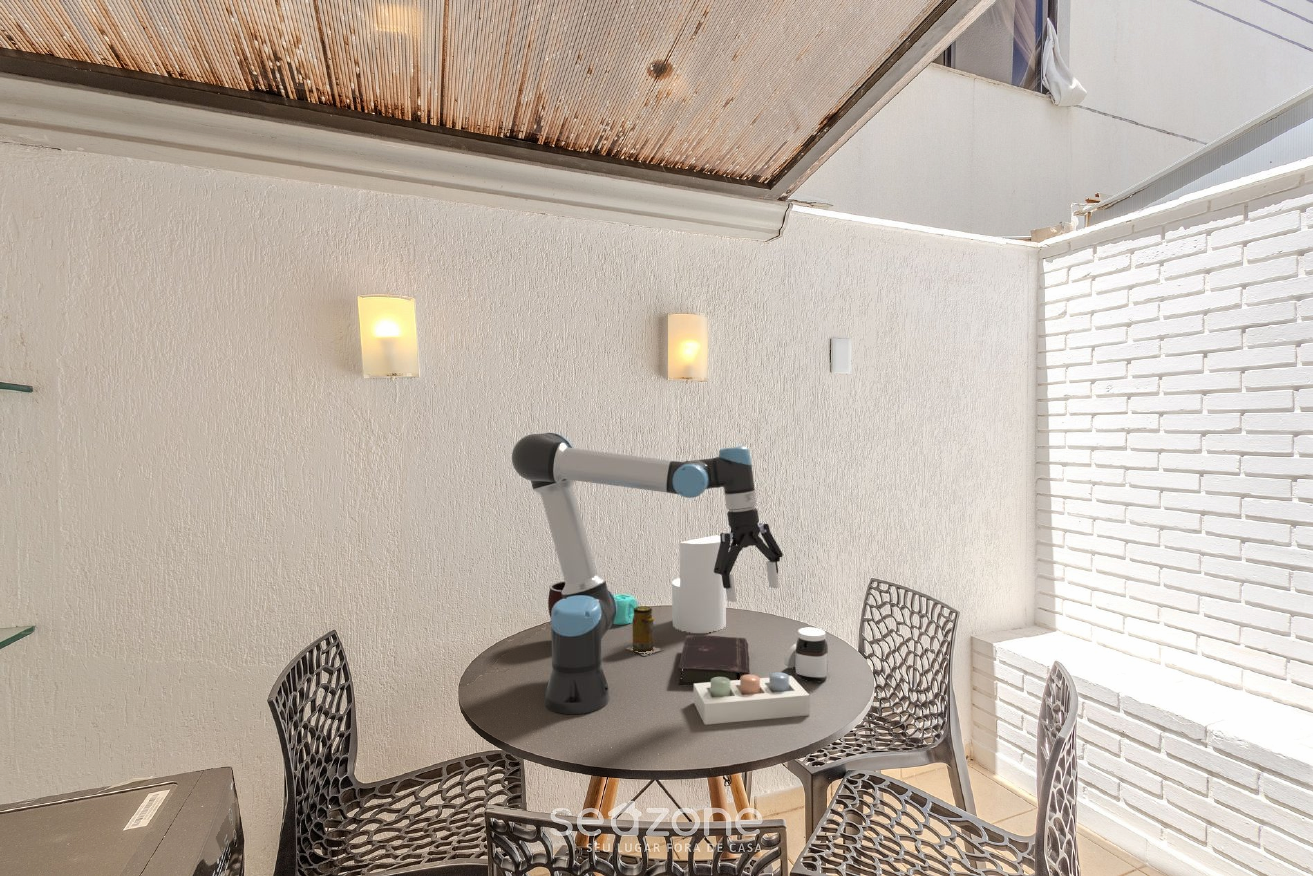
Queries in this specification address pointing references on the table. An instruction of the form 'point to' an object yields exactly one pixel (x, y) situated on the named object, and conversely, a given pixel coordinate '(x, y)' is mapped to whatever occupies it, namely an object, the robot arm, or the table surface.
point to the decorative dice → (625, 609)
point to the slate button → (779, 682)
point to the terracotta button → (749, 684)
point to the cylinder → (699, 588)
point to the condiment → (642, 630)
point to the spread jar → (809, 655)
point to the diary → (713, 658)
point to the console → (751, 703)
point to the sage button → (720, 687)
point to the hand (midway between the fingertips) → (753, 594)
